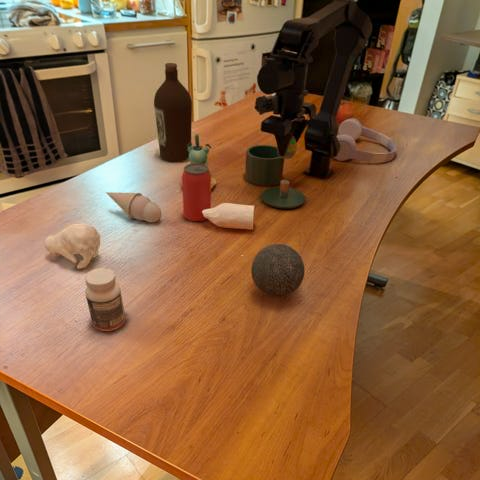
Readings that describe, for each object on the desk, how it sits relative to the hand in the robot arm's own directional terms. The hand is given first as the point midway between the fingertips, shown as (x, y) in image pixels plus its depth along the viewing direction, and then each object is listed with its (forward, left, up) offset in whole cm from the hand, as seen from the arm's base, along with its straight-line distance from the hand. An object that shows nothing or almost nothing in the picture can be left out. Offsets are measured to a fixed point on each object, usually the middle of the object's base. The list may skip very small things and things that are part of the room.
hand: (286, 152), depth 116 cm
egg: (0, 0, -1) cm, 1 cm away
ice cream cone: (+33, -23, -11) cm, 42 cm away
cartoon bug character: (+11, -20, -11) cm, 25 cm away
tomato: (-61, -10, -11) cm, 63 cm away
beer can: (+24, -11, -11) cm, 28 cm away
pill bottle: (+64, 0, -11) cm, 65 cm away
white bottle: (+24, -2, -11) cm, 26 cm away
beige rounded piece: (+54, -20, -11) cm, 59 cm away
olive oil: (-2, -38, -11) cm, 40 cm away
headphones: (-42, +7, -11) cm, 44 cm away
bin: (-5, -9, -11) cm, 15 cm away
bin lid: (+4, +2, -10) cm, 11 cm away
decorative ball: (+40, +20, -11) cm, 46 cm away
